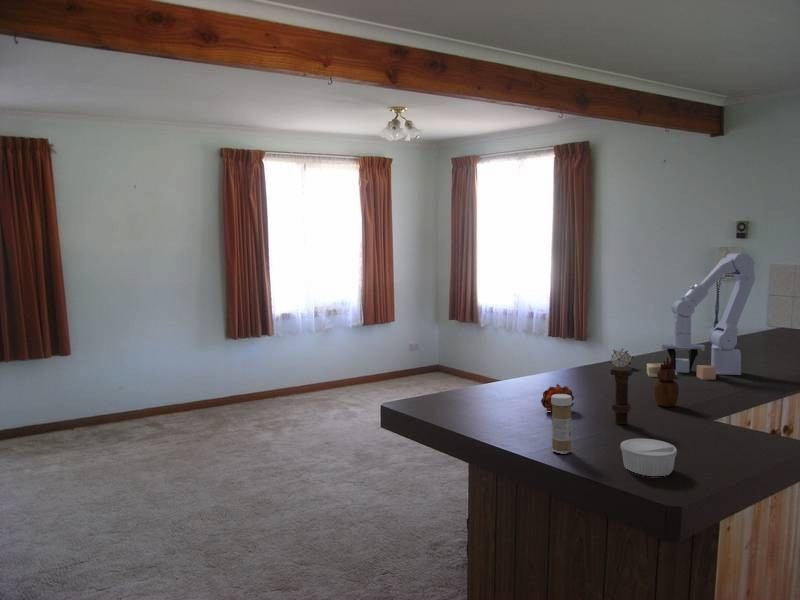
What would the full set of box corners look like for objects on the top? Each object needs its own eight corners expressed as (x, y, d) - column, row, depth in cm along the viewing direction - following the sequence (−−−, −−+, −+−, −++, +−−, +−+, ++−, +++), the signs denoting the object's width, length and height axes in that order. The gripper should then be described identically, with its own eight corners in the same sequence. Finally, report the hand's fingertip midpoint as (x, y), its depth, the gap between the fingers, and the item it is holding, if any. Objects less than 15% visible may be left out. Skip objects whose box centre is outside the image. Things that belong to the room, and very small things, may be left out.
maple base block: (667, 372, 227) (667, 363, 226) (670, 376, 220) (669, 366, 220) (646, 373, 228) (646, 363, 228) (649, 376, 222) (648, 367, 222)
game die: (626, 380, 237) (639, 362, 231) (605, 372, 237) (617, 354, 231) (624, 365, 244) (636, 346, 238) (603, 357, 244) (615, 339, 238)
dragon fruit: (574, 413, 184) (547, 427, 177) (554, 393, 189) (527, 405, 182) (586, 394, 179) (558, 407, 172) (565, 374, 184) (537, 386, 177)
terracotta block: (709, 378, 220) (709, 364, 219) (715, 381, 215) (715, 367, 215) (696, 379, 220) (696, 365, 219) (702, 381, 215) (702, 367, 215)
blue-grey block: (688, 372, 231) (688, 358, 231) (689, 374, 227) (689, 361, 227) (674, 371, 233) (675, 358, 232) (675, 374, 228) (675, 360, 228)
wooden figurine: (677, 404, 186) (678, 354, 185) (679, 408, 181) (680, 357, 180) (653, 402, 189) (653, 353, 187) (654, 407, 183) (654, 356, 182)
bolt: (628, 427, 164) (629, 371, 162) (609, 425, 166) (609, 369, 165) (633, 422, 169) (633, 367, 167) (614, 419, 171) (614, 365, 170)
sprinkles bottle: (557, 447, 149) (557, 392, 148) (575, 451, 146) (575, 395, 145) (547, 452, 145) (547, 396, 144) (565, 456, 142) (565, 398, 141)
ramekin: (665, 484, 125) (666, 458, 125) (611, 472, 133) (611, 447, 132) (684, 468, 133) (684, 444, 133) (632, 458, 141) (632, 435, 140)
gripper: (662, 334, 226) (662, 371, 227) (706, 334, 222) (705, 372, 224) (660, 331, 233) (659, 367, 234) (702, 331, 229) (702, 368, 230)
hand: (682, 369), depth 229 cm, fingers closed on blue-grey block, 5 cm apart
